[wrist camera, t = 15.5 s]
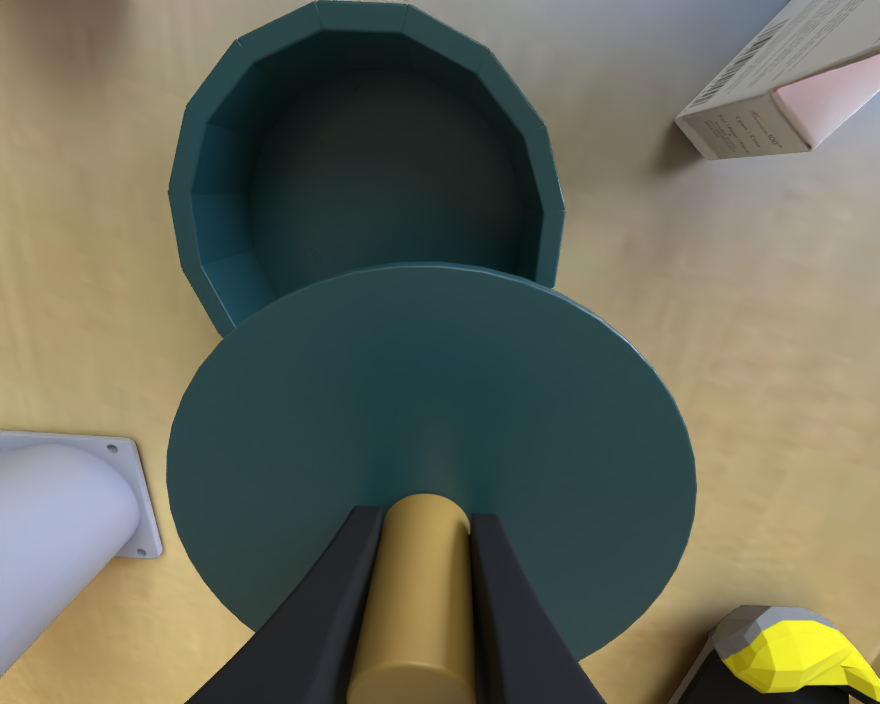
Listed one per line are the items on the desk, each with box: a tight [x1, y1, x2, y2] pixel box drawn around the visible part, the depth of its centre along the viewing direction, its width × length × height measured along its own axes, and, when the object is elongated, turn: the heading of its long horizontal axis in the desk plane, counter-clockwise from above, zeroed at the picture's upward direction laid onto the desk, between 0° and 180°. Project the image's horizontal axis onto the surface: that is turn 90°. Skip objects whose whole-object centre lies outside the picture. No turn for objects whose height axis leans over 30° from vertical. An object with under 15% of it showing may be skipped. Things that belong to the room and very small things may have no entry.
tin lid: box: [166, 262, 697, 704], centre depth 9 cm, size 13×13×5 cm
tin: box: [168, 0, 566, 338], centre depth 15 cm, size 12×12×4 cm
